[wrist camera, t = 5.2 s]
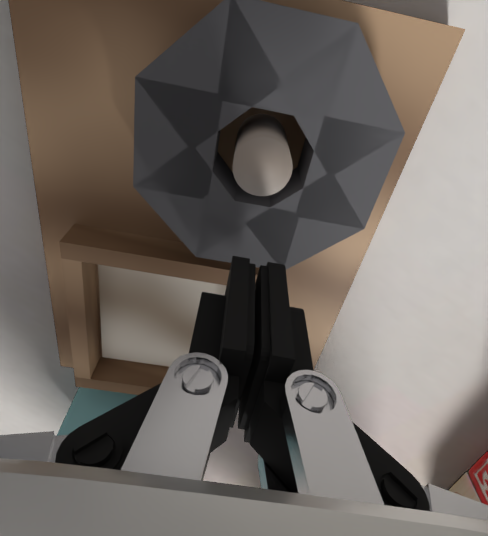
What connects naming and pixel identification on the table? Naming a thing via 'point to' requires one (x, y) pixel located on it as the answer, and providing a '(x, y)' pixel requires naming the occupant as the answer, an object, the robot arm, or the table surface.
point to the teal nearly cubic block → (90, 407)
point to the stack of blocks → (474, 482)
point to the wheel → (273, 99)
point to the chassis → (135, 206)
